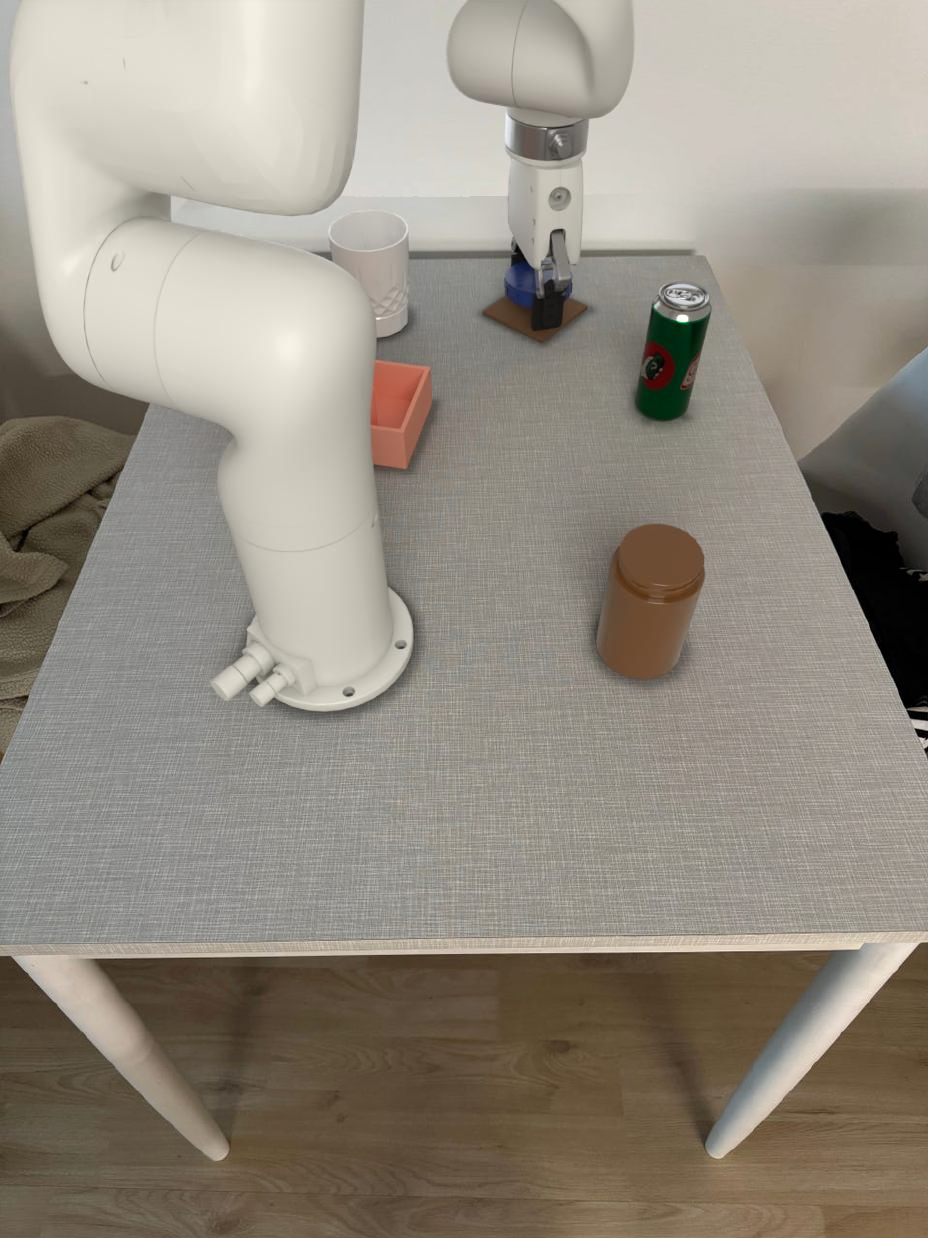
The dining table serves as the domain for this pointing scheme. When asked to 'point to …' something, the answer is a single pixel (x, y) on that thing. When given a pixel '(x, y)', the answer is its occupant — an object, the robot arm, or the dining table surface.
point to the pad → (521, 317)
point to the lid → (526, 283)
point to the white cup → (376, 262)
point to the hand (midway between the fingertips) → (535, 306)
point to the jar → (649, 600)
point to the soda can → (672, 350)
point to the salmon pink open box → (398, 411)
